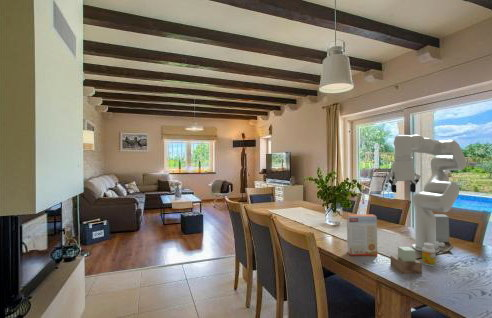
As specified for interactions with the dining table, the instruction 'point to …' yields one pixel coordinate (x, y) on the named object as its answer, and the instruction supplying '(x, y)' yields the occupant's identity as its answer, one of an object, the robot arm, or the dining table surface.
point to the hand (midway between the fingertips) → (403, 192)
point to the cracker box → (362, 234)
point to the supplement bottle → (429, 254)
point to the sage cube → (406, 254)
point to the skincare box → (442, 228)
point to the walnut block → (406, 265)
